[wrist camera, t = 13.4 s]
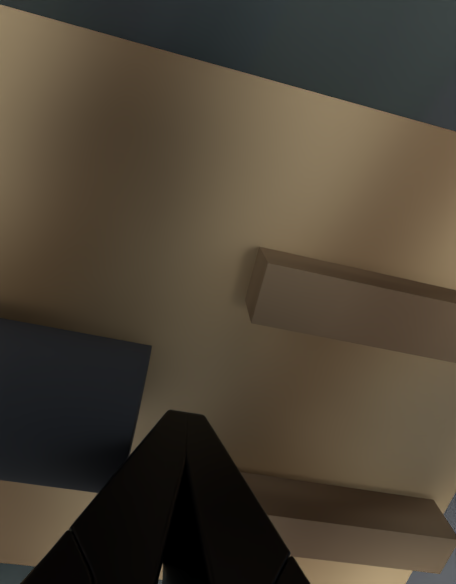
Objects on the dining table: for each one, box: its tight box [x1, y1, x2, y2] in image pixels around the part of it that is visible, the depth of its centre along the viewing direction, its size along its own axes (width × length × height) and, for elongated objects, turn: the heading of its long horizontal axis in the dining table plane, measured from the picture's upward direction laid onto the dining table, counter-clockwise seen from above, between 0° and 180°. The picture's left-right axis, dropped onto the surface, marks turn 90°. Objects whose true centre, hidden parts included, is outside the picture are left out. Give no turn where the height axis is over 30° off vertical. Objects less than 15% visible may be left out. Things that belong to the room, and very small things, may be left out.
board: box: [0, 5, 456, 584], centre depth 9 cm, size 22×13×2 cm, turn 77°
